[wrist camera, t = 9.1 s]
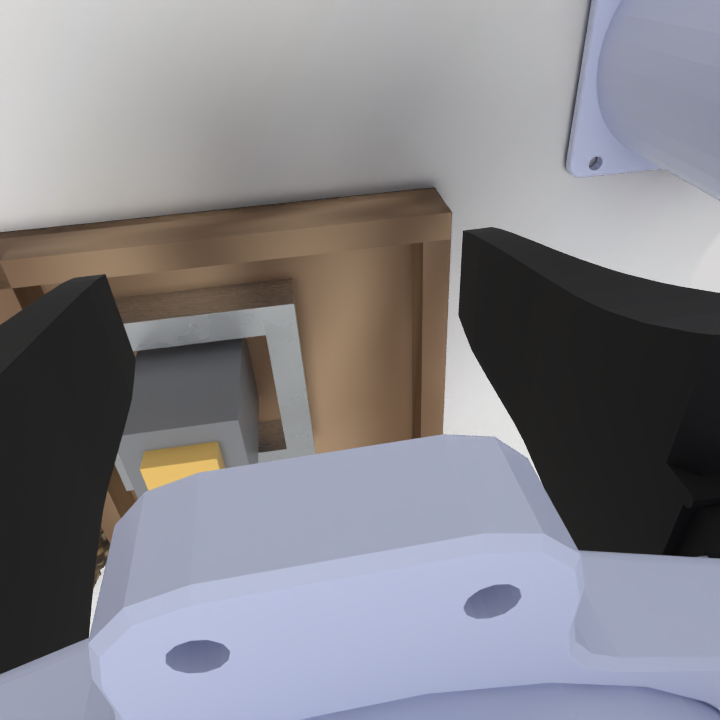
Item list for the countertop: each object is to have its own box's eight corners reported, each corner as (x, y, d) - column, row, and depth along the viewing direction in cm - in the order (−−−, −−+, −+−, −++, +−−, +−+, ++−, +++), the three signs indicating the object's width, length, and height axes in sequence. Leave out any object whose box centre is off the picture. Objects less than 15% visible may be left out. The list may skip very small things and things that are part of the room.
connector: (243, 321, 23) (237, 437, 18) (258, 397, 26) (258, 519, 20) (142, 333, 23) (105, 455, 18) (168, 408, 25) (142, 536, 20)
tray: (434, 187, 22) (452, 212, 20) (427, 500, 32) (438, 536, 30) (-5, 233, 20) (-34, 264, 18) (139, 542, 31) (130, 583, 29)
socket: (291, 277, 22) (294, 303, 21) (313, 433, 27) (316, 464, 26) (70, 303, 22) (55, 331, 20) (134, 458, 27) (126, 490, 25)
